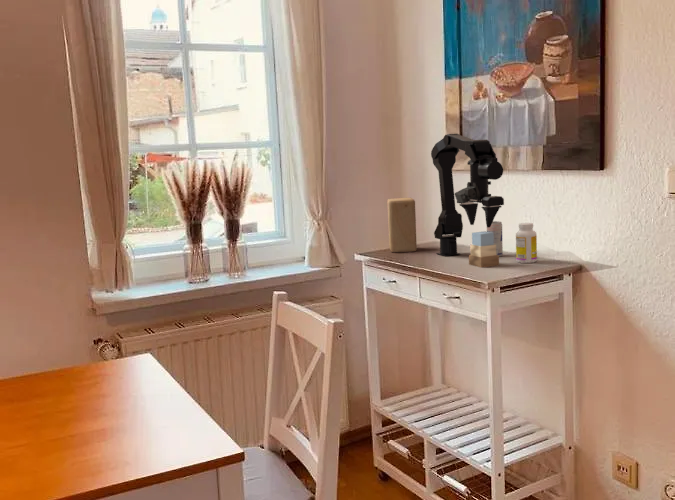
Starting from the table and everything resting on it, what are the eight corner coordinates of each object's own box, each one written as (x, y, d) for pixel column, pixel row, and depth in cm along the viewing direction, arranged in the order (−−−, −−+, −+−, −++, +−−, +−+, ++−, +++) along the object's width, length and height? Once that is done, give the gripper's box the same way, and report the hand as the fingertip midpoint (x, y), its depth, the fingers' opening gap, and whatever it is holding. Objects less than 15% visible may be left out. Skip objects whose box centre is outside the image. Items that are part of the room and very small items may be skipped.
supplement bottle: (534, 259, 231) (534, 221, 229) (538, 263, 224) (538, 224, 222) (514, 260, 232) (514, 222, 230) (517, 263, 225) (517, 225, 223)
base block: (469, 265, 229) (468, 255, 228) (486, 263, 231) (486, 252, 231) (481, 268, 222) (481, 257, 222) (499, 265, 225) (498, 255, 224)
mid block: (470, 254, 228) (470, 244, 228) (485, 253, 230) (485, 242, 230) (480, 257, 223) (480, 246, 222) (496, 255, 225) (496, 244, 224)
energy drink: (503, 254, 244) (502, 221, 242) (501, 257, 239) (501, 223, 237) (488, 254, 246) (487, 221, 244) (486, 257, 241) (485, 223, 239)
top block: (472, 244, 227) (471, 232, 227) (484, 243, 229) (484, 231, 229) (480, 246, 223) (480, 234, 222) (493, 244, 225) (493, 232, 224)
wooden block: (417, 251, 260) (415, 199, 257) (390, 253, 260) (388, 200, 257) (414, 247, 270) (412, 197, 267) (389, 249, 270) (387, 198, 267)
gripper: (442, 179, 229) (444, 225, 231) (475, 181, 212) (476, 231, 214) (470, 177, 233) (471, 222, 235) (504, 178, 216) (505, 227, 218)
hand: (480, 226), depth 226 cm, fingers open, 9 cm apart
